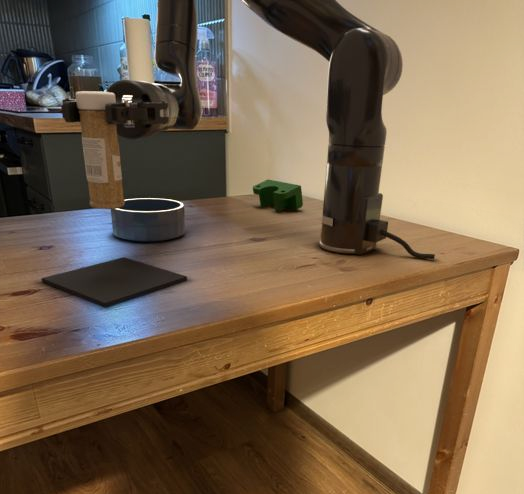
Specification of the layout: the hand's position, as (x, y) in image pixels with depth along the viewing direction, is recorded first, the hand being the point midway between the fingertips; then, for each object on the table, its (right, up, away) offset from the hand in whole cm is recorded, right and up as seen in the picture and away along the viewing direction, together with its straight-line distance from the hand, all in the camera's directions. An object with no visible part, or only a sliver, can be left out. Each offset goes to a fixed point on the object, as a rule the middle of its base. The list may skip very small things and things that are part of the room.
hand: (88, 113), depth 58 cm
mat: (0, -18, +12) cm, 22 cm away
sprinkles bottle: (0, -9, +8) cm, 12 cm away
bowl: (-1, -6, +36) cm, 36 cm away
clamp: (+24, +6, +62) cm, 67 cm away
